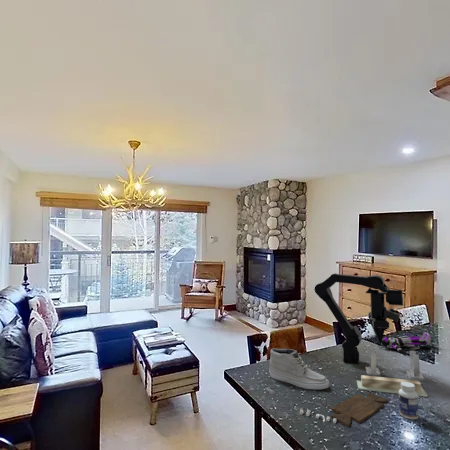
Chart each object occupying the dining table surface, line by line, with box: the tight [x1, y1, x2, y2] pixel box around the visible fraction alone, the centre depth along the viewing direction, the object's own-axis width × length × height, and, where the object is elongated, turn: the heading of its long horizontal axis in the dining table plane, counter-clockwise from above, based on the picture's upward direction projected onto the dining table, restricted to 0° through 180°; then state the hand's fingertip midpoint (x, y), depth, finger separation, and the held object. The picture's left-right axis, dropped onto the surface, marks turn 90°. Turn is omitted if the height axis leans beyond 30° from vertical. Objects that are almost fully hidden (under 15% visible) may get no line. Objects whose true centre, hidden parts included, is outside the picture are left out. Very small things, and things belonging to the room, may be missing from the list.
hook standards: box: [365, 347, 426, 382], centre depth 137 cm, size 21×7×10 cm, turn 73°
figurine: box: [377, 332, 432, 355], centre depth 172 cm, size 24×7×29 cm
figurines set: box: [299, 408, 338, 424], centre depth 104 cm, size 12×3×3 cm, turn 59°
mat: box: [356, 380, 428, 398], centre depth 123 cm, size 23×7×1 cm, turn 73°
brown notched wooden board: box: [330, 392, 389, 428], centre depth 109 cm, size 26×2×10 cm
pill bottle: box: [398, 382, 419, 420], centre depth 105 cm, size 5×5×10 cm
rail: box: [360, 374, 422, 393], centre depth 123 cm, size 20×3×3 cm, turn 73°
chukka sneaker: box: [268, 347, 330, 390], centre depth 131 cm, size 9×25×12 cm, turn 57°
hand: (378, 338), depth 147 cm, fingers open, 9 cm apart
